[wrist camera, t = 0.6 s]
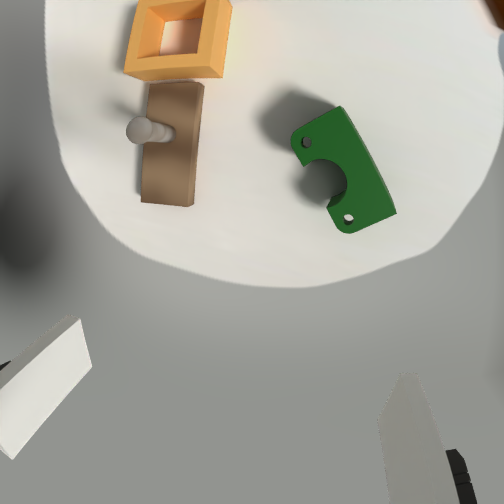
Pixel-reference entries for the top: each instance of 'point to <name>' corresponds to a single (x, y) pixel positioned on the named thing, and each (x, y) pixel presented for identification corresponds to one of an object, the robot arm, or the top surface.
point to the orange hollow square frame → (182, 65)
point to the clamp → (346, 170)
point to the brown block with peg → (169, 142)
